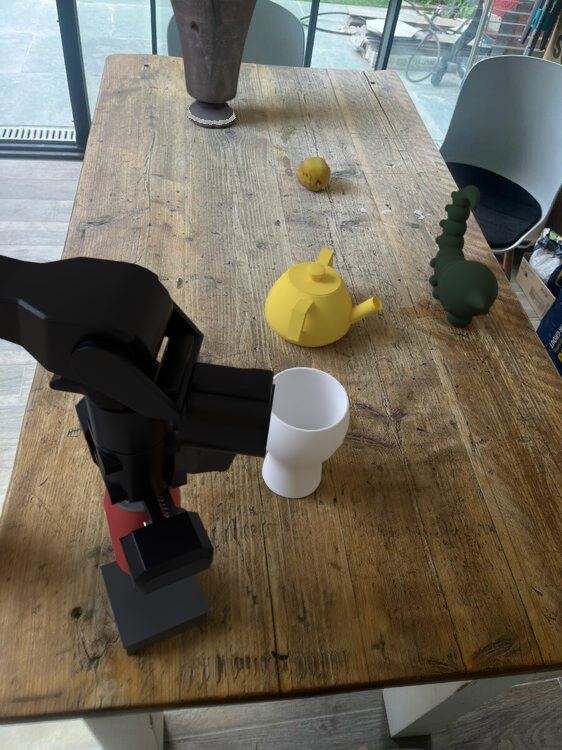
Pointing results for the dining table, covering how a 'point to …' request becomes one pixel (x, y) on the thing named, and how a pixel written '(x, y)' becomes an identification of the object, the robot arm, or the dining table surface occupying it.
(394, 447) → the dining table surface
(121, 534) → the beer can
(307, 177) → the fruit
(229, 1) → the vase
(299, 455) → the cup
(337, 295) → the teapot
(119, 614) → the block
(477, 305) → the toy figurine
